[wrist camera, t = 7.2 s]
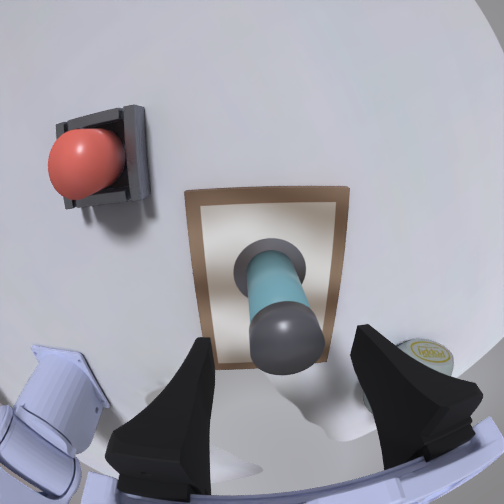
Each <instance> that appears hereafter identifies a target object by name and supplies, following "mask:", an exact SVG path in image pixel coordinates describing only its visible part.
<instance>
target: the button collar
mask: <svg viewBox="0 0 504 504" xmlns="http://www.w3.org/2000/svg"><path fill="white" fill-rule="evenodd" d="M120 121H124V131H125V146H126V158H127V169H128V178H129V186H123V187H115V188H108V189H101V190H99V191H97V192H95V193H93V194H91V195H89V196H87V197H85V198H83V199H80V200H71V199H67V198H65V197H64V203H65V209H72V208H75V207H76V206H77V208H80V207H87V206H95V205H103V204H111V203H120V202H127V201H128V200H130V199H131V201H139V200H142V199H144V198H145V197H146V196H148V195H149V194H150V184H149V174H148V162H147V150H146V135H145V114H144V107H142V106H138V105H129V106H124V107H123V108H115V109H110V110H106V111H102V112H98V113H94V114H90V115H86V116H83V117H79V118H75V119H72V120H69V121H68V122H62V123H59V124H56V137H57V139H58V138H59V137H60V136H61V135H62V134H64V133H66V132H67V131H70V130H75V129H88V128H92V127H97V126H101V125H105V124H110V123H115V122H120Z"/></svg>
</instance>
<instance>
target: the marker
mask: <svg viewBox="0 0 504 504" xmlns="http://www.w3.org/2000/svg"><path fill="white" fill-rule="evenodd" d="M246 275H247V289H248V303H249V316H250V325H249V343H250V356H251V359H252V361H253V363H254V364H255V366H257V367H258V368H259V369H260V370H262V371H264V372H266V373H269V374H274V375H290V374H295V373H298V372H301V371H303V370H305V369H307V368H309V367H310V366H312V365H313V364H314V363H316V362H317V361H318V359H319V358H320V357H321V355H322V354H323V351H324V348H325V338H324V335H323V333H322V330H321V328H320V325H319V323H318V320H317V318H316V315H315V313H314V312H313V311H312V310H311V308H310V305H309V302H308V300H307V297H306V295H305V292H304V290H303V287H302V285H301V282H300V280H299V277H298V275H297V272H296V270H295V268H294V265H293V263H292V261H291V259H290V258H289V257H288V256H287V255H286V254H284V253H282V252H280V251H276V250H267V251H263V252H261V253H259V254H257V255H255V256H254V257H253V258H252V259H251V261H250V262H249V264H248V266H247V270H246Z"/></svg>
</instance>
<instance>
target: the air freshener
mask: <svg viewBox="0 0 504 504" xmlns="http://www.w3.org/2000/svg"><path fill="white" fill-rule="evenodd" d="M397 347H398V348H399V349H401V350H402V351H403V352H405V353H406V354H408V355H409V356H411V357H412V358H414V359H415V360H417V361H419V362H421V363H422V364H424V365H426V366H428V367H430V368H432V369H434V370H436V371H438V372H441V373H443V374H446V375H448V376H451V375H452V371H453V366H454V359H453V355H452V353H451V352H450V351H449V350H448V349H447V348H446V347H445V346H443V345H441V344H439V343H437V342H434V341H431V340H427V339H412V340H409V341H407V342H405V343H402V344H401V345H399V346H397ZM363 399H364V404H365V406H366V407H367V409H368V410H369V411H370V412H371V413H372V410H371V407H370V404H369V402H368V400H367V397H366V395H365V393H364V391H363ZM372 414H373V413H372Z"/></svg>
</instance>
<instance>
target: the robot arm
mask: <svg viewBox="0 0 504 504" xmlns="http://www.w3.org/2000/svg"><path fill="white" fill-rule="evenodd" d="M31 350H32V352H33V354H34V355H35V357H36V359H37V361H38V362H39V364H38V365H37V367H36V369H35V370H34V372H33V374H32V375H31V377H30V379H29V380H28V382H27V384H26V385H25V387H24V389H23V391H22V392H21V394H20V396H19V398H18V400H17V401H16V403H15V405H14V407H12V408H11V407H10V406H9V405H2V406H0V463H2V464H3V465H4V466H6V467H7V468H8V469H10V470H11V471H12V472H14V473H15V474H17V475H18V476H20V477H21V478H23V479H24V480H26V481H27V482H29V483H30V484H32V485H34V486H35V487H37V488H39V489H40V490H42V491H43V492H36V491H34V490H32V489H31V488H29V487H28V486H26V485H24V484H23V483H21V482H20V481H18V480H17V479H15V478H14V477H12V476H11V475H9V474H8V473H7V472H6V471H4V470H3V469H2V468H1V466H0V504H69V501H70V500H71V498H72V496H73V495H74V494H75V493H76V492H77V490H78V488H79V485H80V482H81V477H82V472H81V466H80V462H79V460H78V459H77V457H75V454H79V453H82V452H83V451H85V450H86V449H87V448H88V447H89V446H90V444H91V442H92V439H93V436H94V433H95V430H96V427H97V424H98V421H99V418H100V416H101V413H102V410H103V408H110V404H109V402H108V401H107V399H106V397H105V396H104V394H103V392H102V391H101V389H100V387H99V385H98V384H97V382H96V380H95V378H94V376H93V375H92V373H91V371H90V369H89V367H88V365H87V363H86V361H85V359H84V357H83V355H82V354H81V353H78V352H72V351H65V350H58V349H52V348H46V347H40V346H35V345H32V346H31ZM350 356H351V360H352V363H353V367H354V370H355V373H356V375H357V377H358V379H359V382H360V384H361V386H362V388H363V391H364V393H365V395H366V397H367V400H368V402H369V404H370V407H371V410H372V413H373V416H374V419H375V423H376V427H377V431H378V435H379V440H380V445H381V450H382V456H383V464H384V471H381V472H378V473H375V474H372V475H368V476H365V477H361V478H358V479H354V480H350V481H346V482H342V483H337V484H333V485H328V486H323V487H317V488H312V489H306V490H300V491H292V492H283V493H273V494H261V495H238V496H219V495H218V496H217V495H211V483H210V451H209V433H210V432H209V431H210V419H211V410H212V403H213V395H214V388H215V363H214V357H213V351H212V344H211V338H210V337H198V338H197V339H196V340H195V342H194V344H193V346H192V348H191V350H190V352H189V354H188V355H187V357H186V359H185V360H184V362H183V364H182V365H181V367H180V368H179V370H178V371H177V373H176V374H175V376H174V377H173V378H172V380H171V381H170V382H169V384H168V385H167V386H166V387H165V389H164V390H163V391H162V392H161V393H160V394H159V395H158V396H157V397H156V398H155V399H154V401H152V403H150V404H149V405H148V406H147V407H146V408H145V409H144V410H143V411H141V412H140V413H139V414H138V415H136V416H135V417H134V418H133V419H131V420H130V421H129V422H127V423H125V424H124V425H122V426H121V427H119V428H118V429H116V430H114V431H113V433H112V435H111V438H110V440H109V443H108V446H107V450H106V453H105V459H106V461H107V462H108V463H109V464H110V465H111V466H112V467H113V468H114V469H115V470H116V471H117V472H118V473H119V474H120V475H119V480H118V479H116V478H113V477H110V476H107V475H102V474H99V473H95V472H92V471H90V472H88V476H87V480H86V484H85V487H84V491H83V496H82V500H81V504H428V503H430V502H431V501H434V500H436V499H437V498H439V497H441V496H443V495H445V494H446V493H448V492H450V491H452V490H453V489H455V488H457V487H458V486H460V485H461V484H463V483H465V482H466V481H468V480H469V479H471V478H472V477H474V476H476V475H477V474H478V473H480V472H481V471H483V470H484V469H485V468H487V467H488V466H489V465H490V464H491V463H493V462H494V461H495V460H496V459H497V458H498V457H499V456H500V455H502V454H503V453H504V438H503V436H502V434H501V433H500V431H499V429H498V428H497V426H496V424H495V423H494V421H493V419H492V418H491V417H487V418H486V419H484V420H483V421H481V422H479V423H478V424H476V425H475V426H474V427H473V428H472V426H471V423H472V419H471V417H470V416H471V415H472V413H473V412H474V411H475V409H476V408H477V407H478V405H479V404H480V403H481V401H482V399H483V393H482V392H481V391H480V389H479V388H478V386H477V385H476V383H473V382H468V381H464V380H460V379H457V378H454V377H451V376H448V375H446V374H443V373H441V372H438V371H436V370H434V369H432V368H430V367H428V366H426V365H424V364H422V363H421V362H419V361H417V360H415V359H414V358H412V357H411V356H409V355H408V354H406V353H405V352H403V351H402V350H401V349H399V348H398V347H397V346H395V345H394V344H393V343H391V342H390V341H389V340H388V339H386V338H385V337H384V336H383V335H381V334H380V333H379V332H378V331H376V330H375V329H374V328H373V327H371V326H370V325H369V324H366V325H359V326H357V330H356V334H355V338H354V342H353V346H352V350H351V354H350Z"/></svg>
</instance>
